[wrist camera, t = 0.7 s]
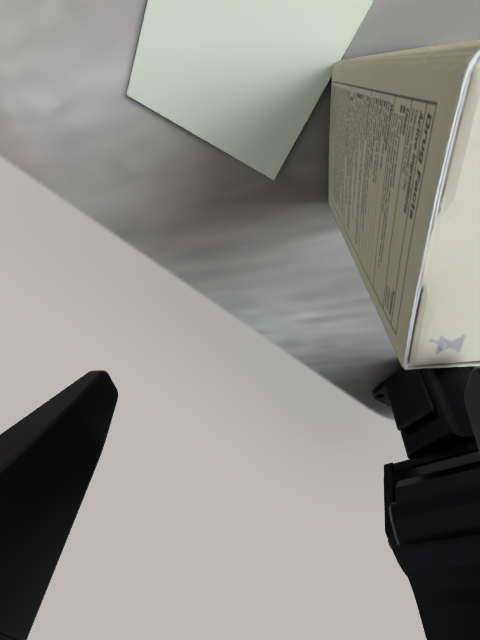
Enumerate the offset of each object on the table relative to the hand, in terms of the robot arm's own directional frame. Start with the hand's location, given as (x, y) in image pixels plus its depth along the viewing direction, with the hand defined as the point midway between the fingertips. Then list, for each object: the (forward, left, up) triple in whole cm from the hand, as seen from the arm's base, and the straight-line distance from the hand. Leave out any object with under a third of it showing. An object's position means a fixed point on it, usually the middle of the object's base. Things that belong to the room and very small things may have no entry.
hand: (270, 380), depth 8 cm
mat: (+5, -5, -13) cm, 15 cm away
